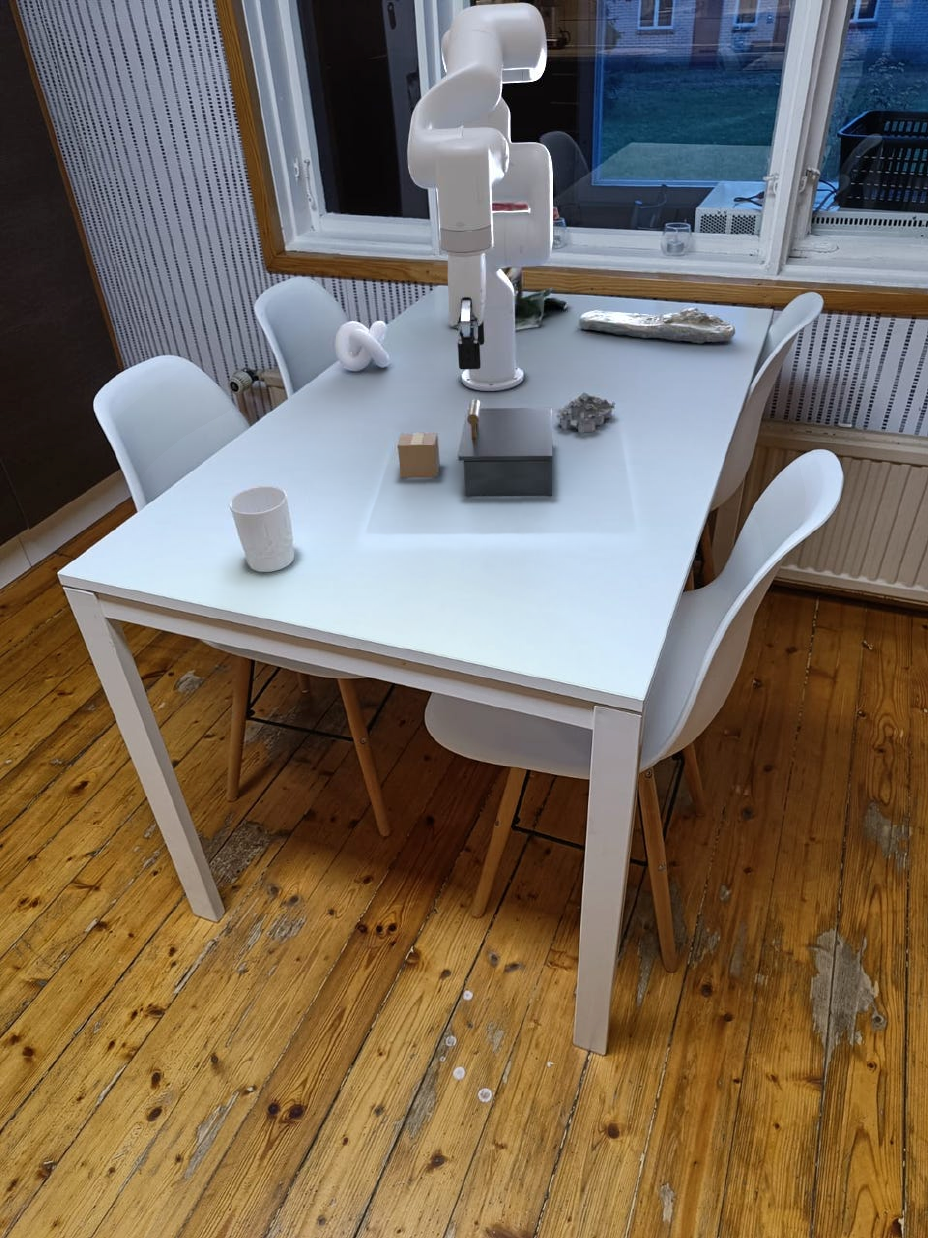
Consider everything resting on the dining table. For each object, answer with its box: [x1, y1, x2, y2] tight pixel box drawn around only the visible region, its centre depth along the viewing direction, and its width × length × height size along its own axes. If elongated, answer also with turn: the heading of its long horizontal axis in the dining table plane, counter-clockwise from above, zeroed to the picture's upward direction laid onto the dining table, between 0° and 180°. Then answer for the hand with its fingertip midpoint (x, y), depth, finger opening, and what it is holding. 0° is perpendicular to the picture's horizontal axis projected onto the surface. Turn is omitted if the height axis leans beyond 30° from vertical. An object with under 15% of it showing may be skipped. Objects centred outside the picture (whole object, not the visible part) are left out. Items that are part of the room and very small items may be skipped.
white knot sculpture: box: [334, 320, 390, 372], centre depth 183 cm, size 11×12×9 cm
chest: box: [463, 459, 553, 498], centre depth 140 cm, size 14×18×7 cm
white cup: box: [228, 485, 295, 573], centre depth 122 cm, size 8×8×10 cm
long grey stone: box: [578, 307, 736, 345], centre depth 191 cm, size 35×5×10 cm
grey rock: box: [556, 392, 616, 434], centre depth 155 cm, size 11×8×4 cm
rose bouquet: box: [453, 202, 569, 331], centre depth 198 cm, size 26×29×30 cm
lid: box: [457, 398, 553, 462], centre depth 137 cm, size 14×18×5 cm
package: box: [397, 432, 441, 478], centre depth 142 cm, size 6×4×7 cm
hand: (472, 356), depth 132 cm, fingers open, 9 cm apart
